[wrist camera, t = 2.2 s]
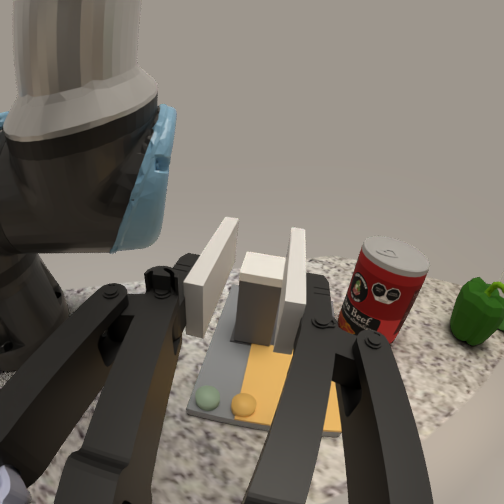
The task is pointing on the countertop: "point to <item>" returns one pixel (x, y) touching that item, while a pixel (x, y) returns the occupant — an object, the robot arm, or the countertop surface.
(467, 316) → the bell pepper
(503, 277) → the wine bottle
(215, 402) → the panel
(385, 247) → the canned food
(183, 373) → the countertop surface
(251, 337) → the toggle
